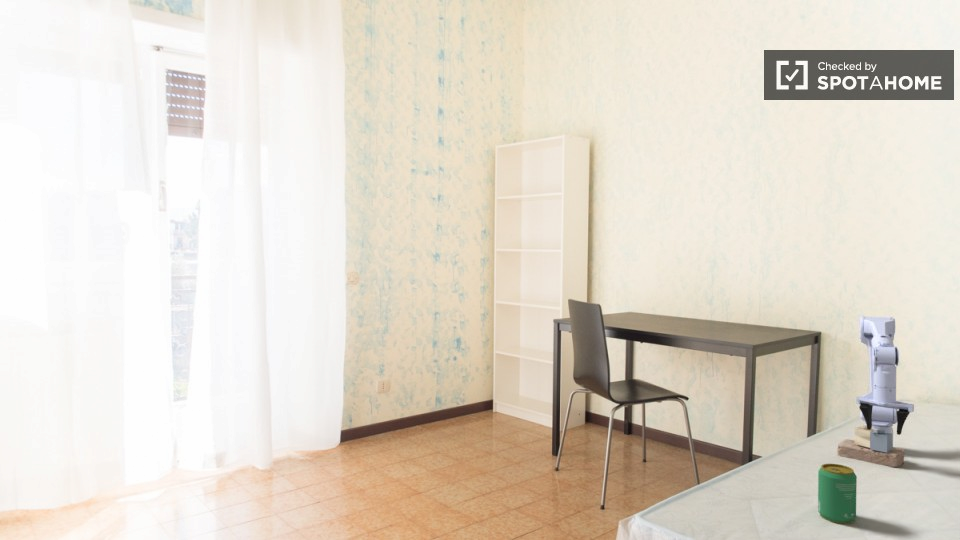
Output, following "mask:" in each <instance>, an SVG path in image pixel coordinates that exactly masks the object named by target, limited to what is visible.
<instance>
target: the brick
mask: <svg viewBox="0 0 960 540" xmlns="http://www.w3.org/2000/svg"><path fill="white" fill-rule="evenodd" d="M836 453H837V454H836V456H839V457H842V458H847V459H852V460H857V461H860V462H861V461H862V462H866V463H871V464H874V465H879V466H884V467H890V468H897V467H900V466H902V465H903V464H904V461H905V451H904V449H903V448H899V447H894V446H893V447H892V450H891V451H889V452H887V453H886V452H881V451H876V450H872V449H870V448H868V447H865V446H861V445H857V444H855V439H843V440H841V441H840V442H838V443H837V451H836Z"/></svg>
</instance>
